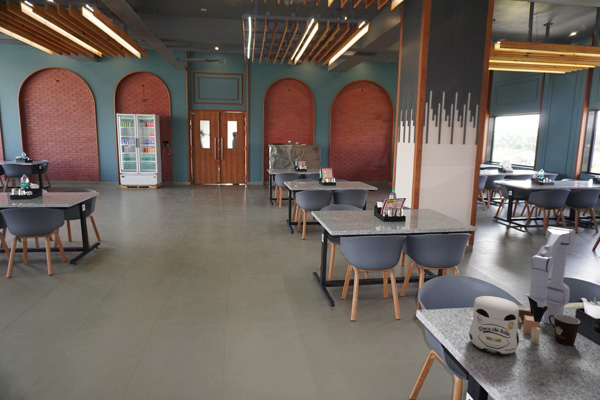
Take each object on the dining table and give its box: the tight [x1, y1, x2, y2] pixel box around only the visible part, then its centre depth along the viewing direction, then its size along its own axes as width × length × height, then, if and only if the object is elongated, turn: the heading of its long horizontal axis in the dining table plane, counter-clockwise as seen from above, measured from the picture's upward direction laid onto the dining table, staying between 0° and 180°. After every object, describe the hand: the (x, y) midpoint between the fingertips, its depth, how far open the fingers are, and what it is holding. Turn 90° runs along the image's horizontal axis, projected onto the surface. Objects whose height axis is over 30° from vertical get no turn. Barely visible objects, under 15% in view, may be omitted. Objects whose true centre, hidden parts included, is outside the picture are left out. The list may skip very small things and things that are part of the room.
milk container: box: [468, 295, 520, 356], centre depth 150 cm, size 17×17×18 cm
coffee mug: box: [549, 314, 581, 347], centre depth 157 cm, size 12×9×10 cm
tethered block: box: [522, 315, 541, 345], centre depth 161 cm, size 14×5×6 cm, turn 157°
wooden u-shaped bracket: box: [517, 308, 541, 330], centre depth 172 cm, size 9×8×5 cm
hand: (535, 317), depth 156 cm, fingers open, 7 cm apart
